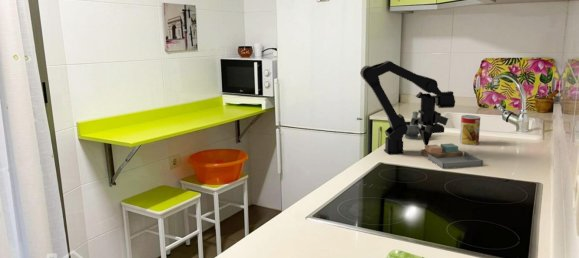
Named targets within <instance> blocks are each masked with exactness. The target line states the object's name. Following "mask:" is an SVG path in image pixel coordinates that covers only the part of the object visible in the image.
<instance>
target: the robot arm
mask: <svg viewBox="0 0 579 258" xmlns="http://www.w3.org/2000/svg"><path fill="white" fill-rule="evenodd" d="M389 72H390V73H392V74H394V75H396V76H399V77H401V78H402V79H405V80H407V81H408V82H411V83H412V84H414V85H415V86H416V87H417V88H420V89H421V90H422V91H423V92H426V93H423V92H422V91H419V92H418V93H417V94H416V95H415V97H416V98H418V99H420V109H418V111H417V112H418V113H419V117H418V116H417V118H412V117H411V119H412V120H411V119H410V122H411V124H412V125H415V124H419V127H417V129H418V131H419V135H420V137H421V140H422V142H423V144H424V146H425V145H429V143H430V140H431V138H432V136H433V134H440V133H442V134H443V133H445V126H446V125H447V123H448V120H449V118H448V117H446V116H442V113H441V112H438V111H437V110H436V107H437V108H438V109H451V108H453V109H454V107H455V105H456V98H455V95H454V91H451V90H449V91H441V90H440V87H438V82H437V80H436V79H434V78H431V77H428V76H425V75H422V74H421V75H420V74H416V73H415V72H413V71H410V70H408V69H406V68H404V67H402V66H400V65H398V64H395V63H394V62H393V61H391V60H385V61H384V62H380V63H377V64H373V65H364V66H363V67H362V68H361V70H360V73H359V74H360V77H361V78H362V79H363V80H364V82H365V83H366V84H367V85H368V86H369V87H370V88H371V90H372V92H373V93H374V95H375V97H376V99H377V101H378V102H379V104H380V106H381V108H382V109H383V112H384V114H385V115H386V117H387V121H388V125H389V127H388V128H386V129H385V130H384V133H385V135H386V136H385V142H384V143H385V145H384V147H385V148H384V149H383V152H385V153H387V154H388V155H397V154H401V155H402V154H404V141H403V138H404V137H405V134H406V132H407V130H408V127H407V125H408V124H407V123H406V122H407V121H406V119H405V117H404V116H403V114H401V113H399V114H397V112H396V110H395V108H394V106H393V105H392V103H391V101H390V99H389V98H388V97H389V96H388V95H387V94H386V92H385V90H384V88H383V86H382V85H381V81H380V76H382V75H384V74H386V73H389ZM432 94H433V95H432Z"/></svg>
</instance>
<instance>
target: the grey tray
mask: <svg viewBox="0 0 579 258" xmlns="http://www.w3.org/2000/svg"><path fill="white" fill-rule="evenodd" d="M427 160H428V161H430V162H431V161H432V162H431V163H433V164H434V163H435V165H436V164H437V165H436V166H437V167H439V166H440V167H439V168H441V167H442V169H452V168H453V167H456V168H466V167H467V166H468V167H478V166H479V167H480V166H483V159H481V158H479V157H477V156H476V155H473V154H470V153H469V152H467V151H464V152H463V156H458V157H445V158H435V157H433V156H431V155H428V158H427ZM453 169H454V168H453Z"/></svg>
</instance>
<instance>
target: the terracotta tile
mask: <svg viewBox="0 0 579 258" xmlns="http://www.w3.org/2000/svg"><path fill="white" fill-rule="evenodd" d="M424 149H425V151H427V152H429V153H440V152H442V147H441V145H438V144H428V145H425V144H424Z"/></svg>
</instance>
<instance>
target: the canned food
mask: <svg viewBox="0 0 579 258" xmlns="http://www.w3.org/2000/svg"><path fill="white" fill-rule="evenodd" d="M480 127H481V116H479V115H475V114H464V115H461V117H460V132H459V143H460V144H461V145H467V146H475V145H476V146H477V145H479V142H480V132H481V131H480V130H481V129H480Z"/></svg>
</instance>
